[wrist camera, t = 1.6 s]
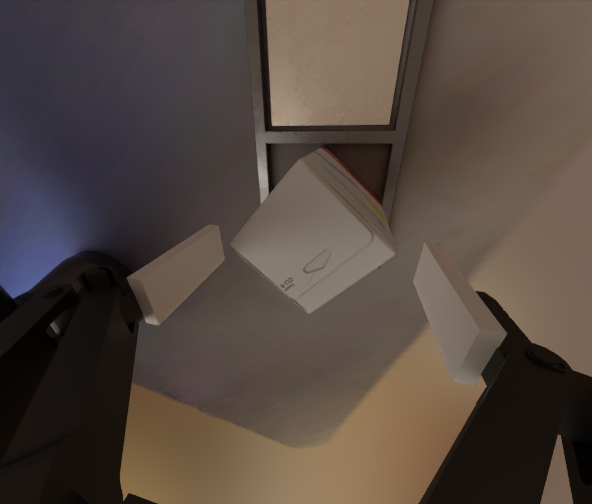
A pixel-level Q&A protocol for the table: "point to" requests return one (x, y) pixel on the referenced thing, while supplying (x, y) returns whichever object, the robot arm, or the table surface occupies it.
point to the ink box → (316, 232)
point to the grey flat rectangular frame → (334, 74)
